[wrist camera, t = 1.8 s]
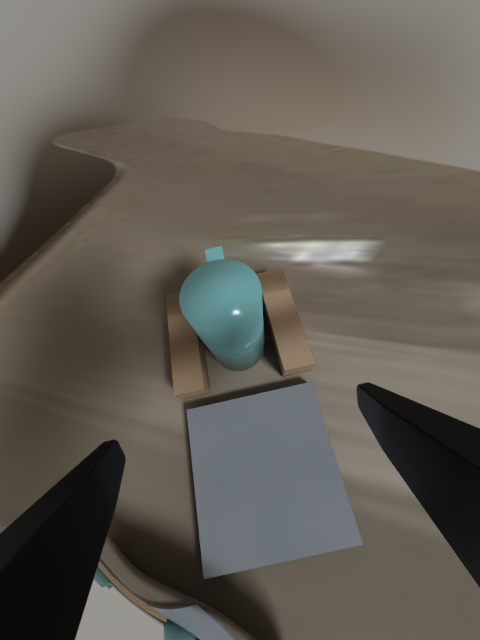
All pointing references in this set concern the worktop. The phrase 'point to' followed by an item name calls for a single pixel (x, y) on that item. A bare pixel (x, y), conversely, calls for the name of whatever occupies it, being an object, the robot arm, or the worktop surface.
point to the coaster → (266, 482)
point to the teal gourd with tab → (225, 310)
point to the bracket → (282, 325)
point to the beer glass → (146, 607)
